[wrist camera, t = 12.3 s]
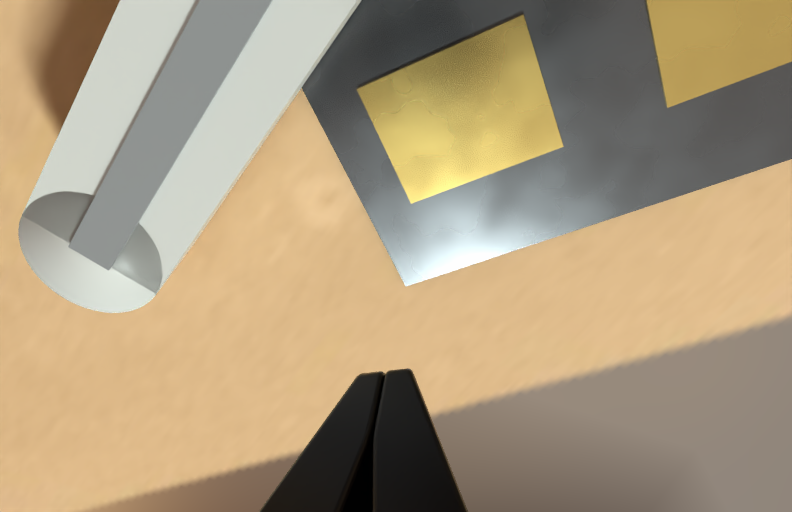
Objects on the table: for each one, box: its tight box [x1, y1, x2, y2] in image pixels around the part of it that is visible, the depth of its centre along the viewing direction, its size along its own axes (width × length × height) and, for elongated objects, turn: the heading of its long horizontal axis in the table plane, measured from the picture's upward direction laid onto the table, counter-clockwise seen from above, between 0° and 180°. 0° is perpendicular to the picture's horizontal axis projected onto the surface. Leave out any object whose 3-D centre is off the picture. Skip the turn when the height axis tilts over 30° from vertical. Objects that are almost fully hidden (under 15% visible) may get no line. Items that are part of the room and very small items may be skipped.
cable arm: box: [18, 0, 361, 313], centre depth 14 cm, size 4×16×3 cm, turn 142°
